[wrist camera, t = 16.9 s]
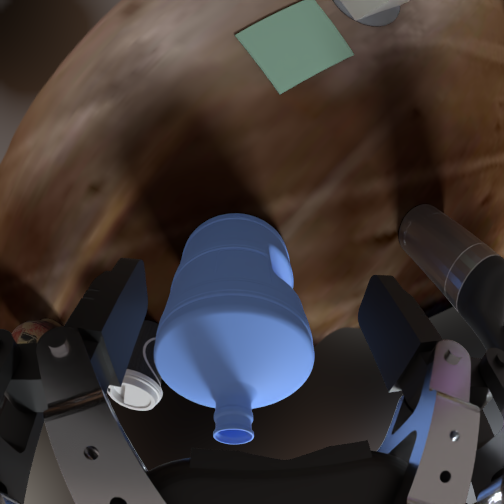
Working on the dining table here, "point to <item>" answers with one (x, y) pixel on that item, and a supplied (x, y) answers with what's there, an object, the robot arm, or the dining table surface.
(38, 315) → the dining table surface
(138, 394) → the coffee cup
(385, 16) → the slate coaster
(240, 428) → the water jug
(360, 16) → the ceramic cover
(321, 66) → the felt mat
